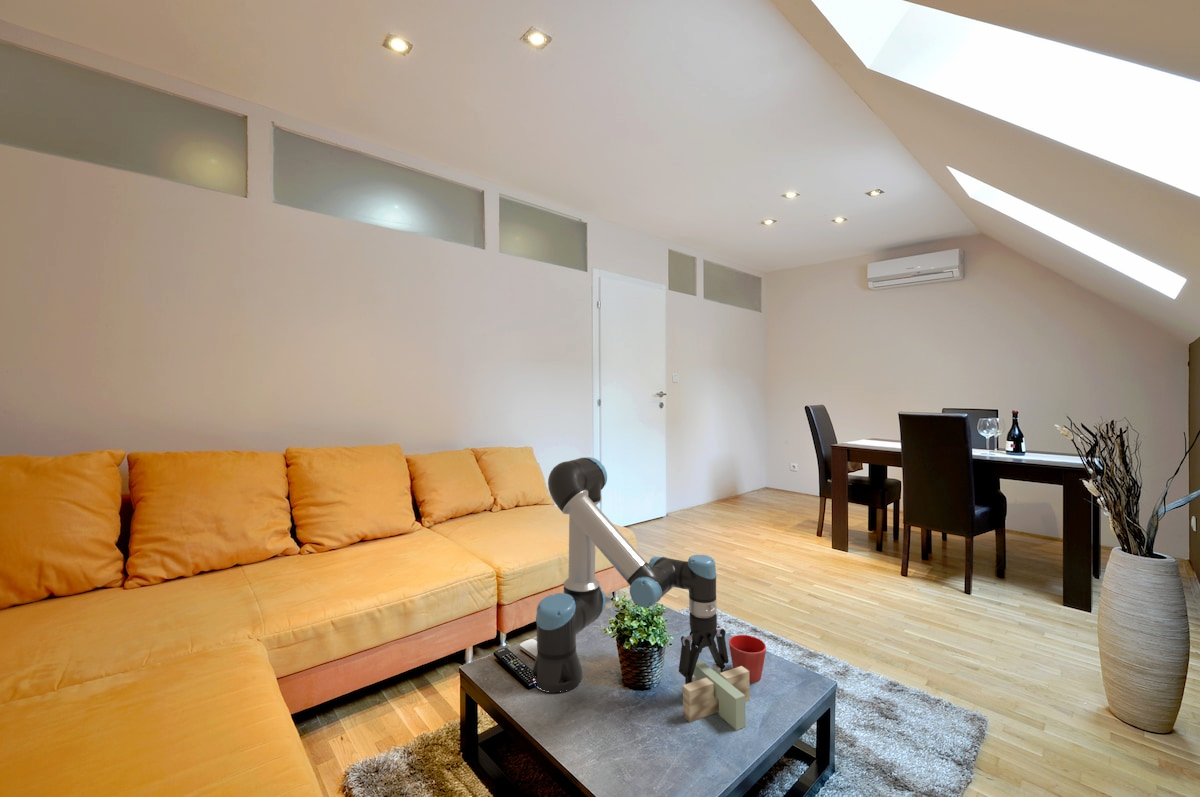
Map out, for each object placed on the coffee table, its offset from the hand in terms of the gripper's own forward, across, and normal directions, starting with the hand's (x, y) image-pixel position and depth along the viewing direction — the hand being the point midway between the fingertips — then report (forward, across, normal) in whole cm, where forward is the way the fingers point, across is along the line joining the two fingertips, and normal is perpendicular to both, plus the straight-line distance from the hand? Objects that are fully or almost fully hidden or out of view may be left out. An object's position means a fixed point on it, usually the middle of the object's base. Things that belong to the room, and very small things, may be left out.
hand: (704, 693), depth 135 cm
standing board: (+1, 0, -6) cm, 6 cm away
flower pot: (+1, +18, +2) cm, 18 cm away
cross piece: (+1, 0, -6) cm, 6 cm away
